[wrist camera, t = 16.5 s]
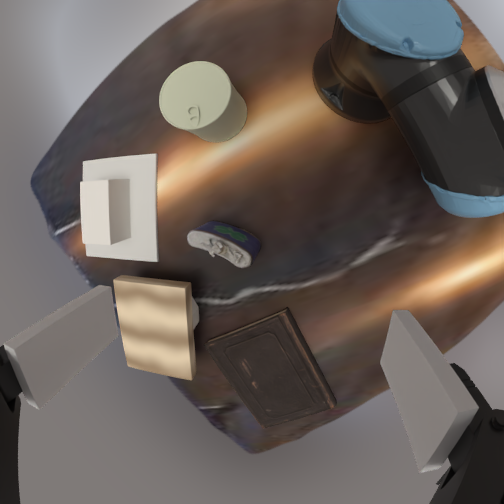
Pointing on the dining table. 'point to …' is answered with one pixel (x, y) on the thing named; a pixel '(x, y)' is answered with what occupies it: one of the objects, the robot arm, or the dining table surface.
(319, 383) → the hardcover book
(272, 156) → the dining table surface
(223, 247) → the flask
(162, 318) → the wavy beige panel
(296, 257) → the dining table surface
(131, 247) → the stand
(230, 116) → the can
